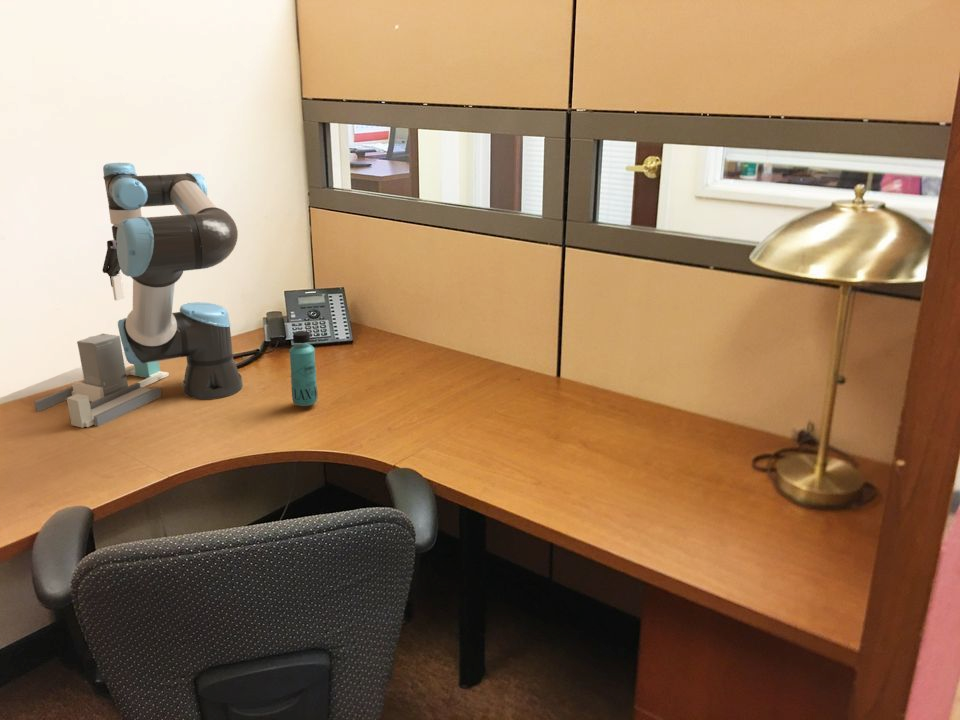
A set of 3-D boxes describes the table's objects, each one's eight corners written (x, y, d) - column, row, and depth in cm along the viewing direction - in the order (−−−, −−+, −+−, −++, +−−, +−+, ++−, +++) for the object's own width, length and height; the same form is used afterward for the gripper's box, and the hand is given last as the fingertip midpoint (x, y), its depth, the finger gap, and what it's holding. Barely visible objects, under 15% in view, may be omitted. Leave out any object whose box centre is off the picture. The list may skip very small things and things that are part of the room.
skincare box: (105, 403, 194) (95, 344, 188) (84, 398, 196) (74, 340, 191) (131, 391, 201) (122, 335, 196) (111, 386, 204) (102, 331, 198)
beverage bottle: (287, 408, 193) (281, 334, 186) (302, 399, 199) (297, 327, 191) (309, 413, 190) (304, 338, 183) (323, 403, 196) (319, 330, 189)
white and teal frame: (168, 375, 211) (163, 338, 207) (104, 404, 192) (97, 364, 188) (138, 369, 215) (132, 332, 211) (72, 396, 196) (64, 357, 192)
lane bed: (161, 396, 198) (160, 387, 198) (98, 426, 181) (96, 417, 180) (101, 383, 206) (100, 374, 205) (36, 410, 189) (34, 401, 188)
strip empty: (156, 394, 199) (152, 369, 196) (85, 428, 179) (80, 401, 177) (141, 391, 201) (137, 366, 198) (69, 424, 181) (64, 397, 179)
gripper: (174, 226, 196) (184, 304, 204) (103, 217, 205) (115, 292, 213) (152, 231, 190) (163, 312, 197) (79, 222, 199) (92, 299, 206)
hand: (138, 302), depth 205 cm, fingers open, 13 cm apart
